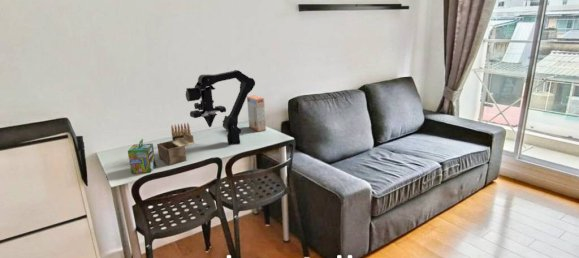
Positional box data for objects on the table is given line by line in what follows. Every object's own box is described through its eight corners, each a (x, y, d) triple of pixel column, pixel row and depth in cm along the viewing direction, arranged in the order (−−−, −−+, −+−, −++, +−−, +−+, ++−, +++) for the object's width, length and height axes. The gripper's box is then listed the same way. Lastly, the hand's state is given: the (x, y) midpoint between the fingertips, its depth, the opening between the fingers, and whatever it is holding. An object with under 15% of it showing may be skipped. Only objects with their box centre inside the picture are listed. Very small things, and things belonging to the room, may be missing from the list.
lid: (185, 139, 183) (184, 131, 182) (194, 143, 175) (193, 136, 174) (171, 142, 179) (170, 135, 177) (180, 147, 171) (179, 139, 170)
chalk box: (137, 166, 168) (132, 137, 164) (156, 165, 169) (152, 136, 165) (130, 174, 160) (125, 143, 155) (151, 172, 160) (146, 142, 156)
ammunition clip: (173, 145, 197) (170, 125, 194) (172, 144, 199) (170, 124, 195) (192, 142, 201) (189, 122, 198) (191, 141, 203) (189, 121, 199)
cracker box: (266, 130, 218) (264, 98, 213) (257, 132, 216) (255, 99, 210) (257, 125, 230) (254, 94, 224) (248, 127, 227) (246, 96, 221)
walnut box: (176, 154, 183) (174, 139, 180) (186, 160, 173) (184, 145, 171) (159, 158, 177) (157, 144, 175) (169, 165, 168) (166, 150, 165)
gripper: (215, 94, 194) (217, 121, 199) (183, 99, 183) (187, 127, 187) (225, 96, 186) (227, 124, 190) (193, 102, 175) (196, 131, 179)
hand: (210, 126), depth 187 cm, fingers closed
